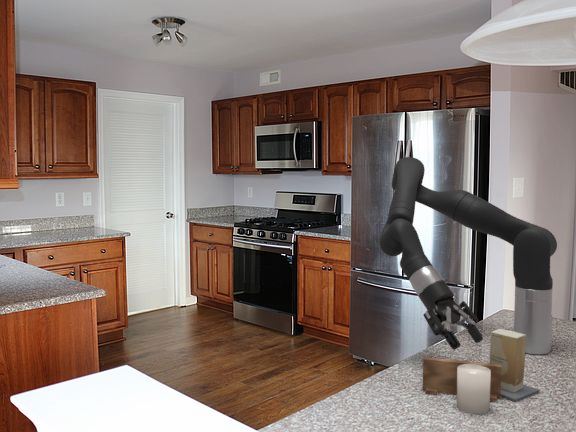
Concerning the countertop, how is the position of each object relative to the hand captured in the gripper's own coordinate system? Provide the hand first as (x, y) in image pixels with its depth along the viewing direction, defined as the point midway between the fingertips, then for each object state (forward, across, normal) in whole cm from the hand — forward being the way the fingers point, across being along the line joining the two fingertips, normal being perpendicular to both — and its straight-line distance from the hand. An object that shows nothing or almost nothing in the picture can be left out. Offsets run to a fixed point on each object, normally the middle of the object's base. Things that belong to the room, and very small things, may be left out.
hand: (468, 344), depth 127 cm
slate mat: (+13, 0, +2) cm, 13 cm away
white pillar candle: (+14, +14, +3) cm, 20 cm away
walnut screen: (+9, +10, -2) cm, 14 cm away
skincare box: (+12, 0, +2) cm, 12 cm away
